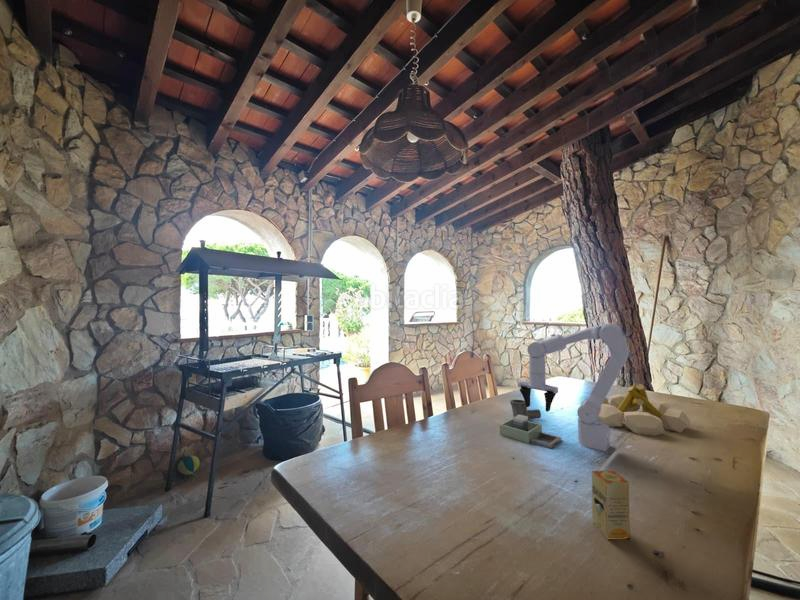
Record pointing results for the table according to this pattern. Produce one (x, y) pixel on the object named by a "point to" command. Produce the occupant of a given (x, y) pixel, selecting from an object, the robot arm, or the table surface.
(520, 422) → the grey plug block
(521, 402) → the pipe
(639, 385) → the campfire
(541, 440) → the socket block
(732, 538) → the table surface
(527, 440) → the bin
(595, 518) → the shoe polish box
